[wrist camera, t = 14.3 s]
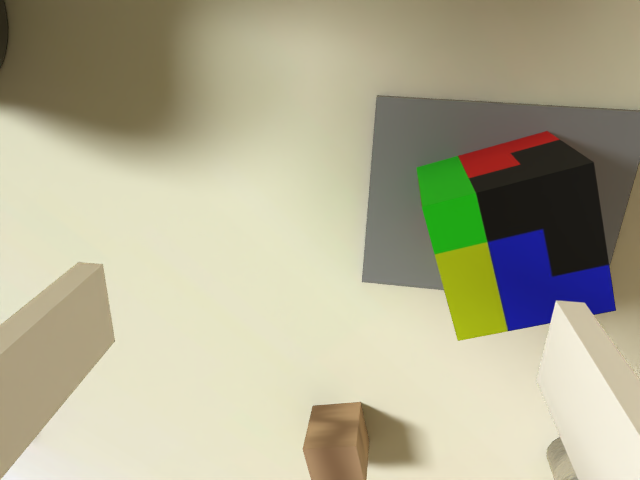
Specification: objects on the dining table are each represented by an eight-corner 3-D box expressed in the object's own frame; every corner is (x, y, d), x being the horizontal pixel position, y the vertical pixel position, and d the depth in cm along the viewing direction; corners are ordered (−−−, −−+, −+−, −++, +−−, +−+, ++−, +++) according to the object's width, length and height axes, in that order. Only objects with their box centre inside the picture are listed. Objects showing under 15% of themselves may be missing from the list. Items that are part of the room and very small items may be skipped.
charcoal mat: (362, 277, 46) (361, 281, 45) (377, 95, 40) (376, 96, 39) (595, 300, 44) (598, 305, 43) (648, 111, 38) (653, 112, 37)
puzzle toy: (567, 248, 42) (615, 310, 32) (445, 276, 44) (457, 340, 35) (547, 130, 38) (593, 162, 29) (416, 167, 41) (421, 206, 32)
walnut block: (322, 443, 54) (314, 489, 49) (312, 405, 52) (302, 449, 47) (369, 440, 53) (365, 487, 48) (360, 401, 51) (356, 446, 46)
